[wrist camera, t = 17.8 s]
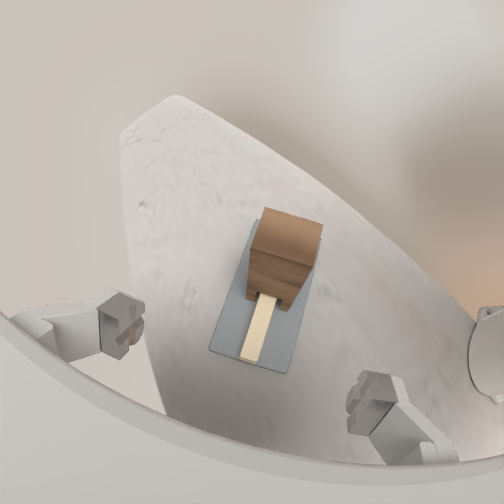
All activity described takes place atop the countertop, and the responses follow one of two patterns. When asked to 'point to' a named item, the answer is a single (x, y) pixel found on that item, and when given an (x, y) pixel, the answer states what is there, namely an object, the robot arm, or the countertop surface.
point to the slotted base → (244, 315)
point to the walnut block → (282, 256)
